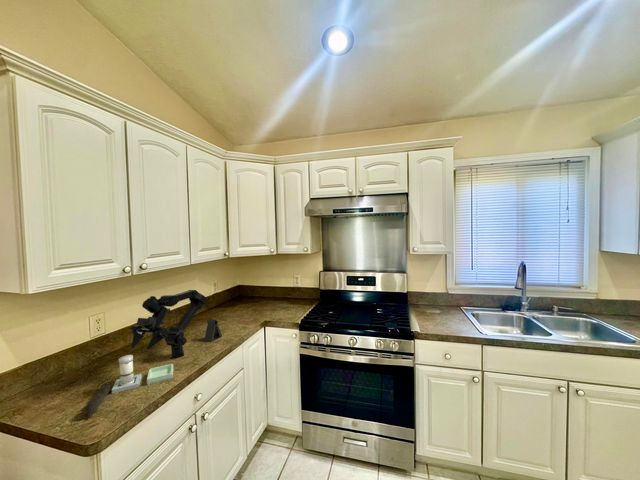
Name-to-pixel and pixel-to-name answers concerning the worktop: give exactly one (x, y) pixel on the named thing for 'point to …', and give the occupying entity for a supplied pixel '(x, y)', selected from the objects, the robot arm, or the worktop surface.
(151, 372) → the parts tray
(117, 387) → the rectangular open frame
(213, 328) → the phone stand
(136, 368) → the worktop surface
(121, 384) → the mushroom-shaped knob
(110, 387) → the hand tool
